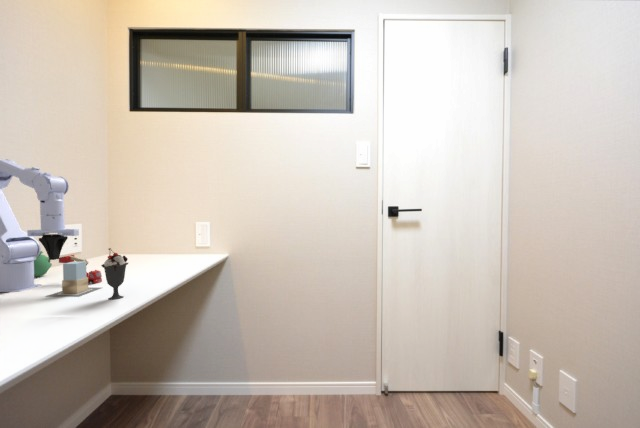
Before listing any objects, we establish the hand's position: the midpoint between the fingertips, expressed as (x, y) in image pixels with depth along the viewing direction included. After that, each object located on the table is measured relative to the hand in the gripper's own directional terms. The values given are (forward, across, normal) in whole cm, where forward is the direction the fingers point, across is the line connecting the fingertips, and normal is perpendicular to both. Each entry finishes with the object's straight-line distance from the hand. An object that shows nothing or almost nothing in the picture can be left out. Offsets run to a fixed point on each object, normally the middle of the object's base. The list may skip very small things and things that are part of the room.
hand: (54, 259), depth 99 cm
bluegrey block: (+6, +7, -1) cm, 9 cm away
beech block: (+10, +7, -1) cm, 12 cm away
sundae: (+11, +24, -7) cm, 27 cm away
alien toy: (+10, -24, +21) cm, 34 cm away
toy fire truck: (+10, 0, +11) cm, 15 cm away
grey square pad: (+10, +7, -1) cm, 13 cm away
